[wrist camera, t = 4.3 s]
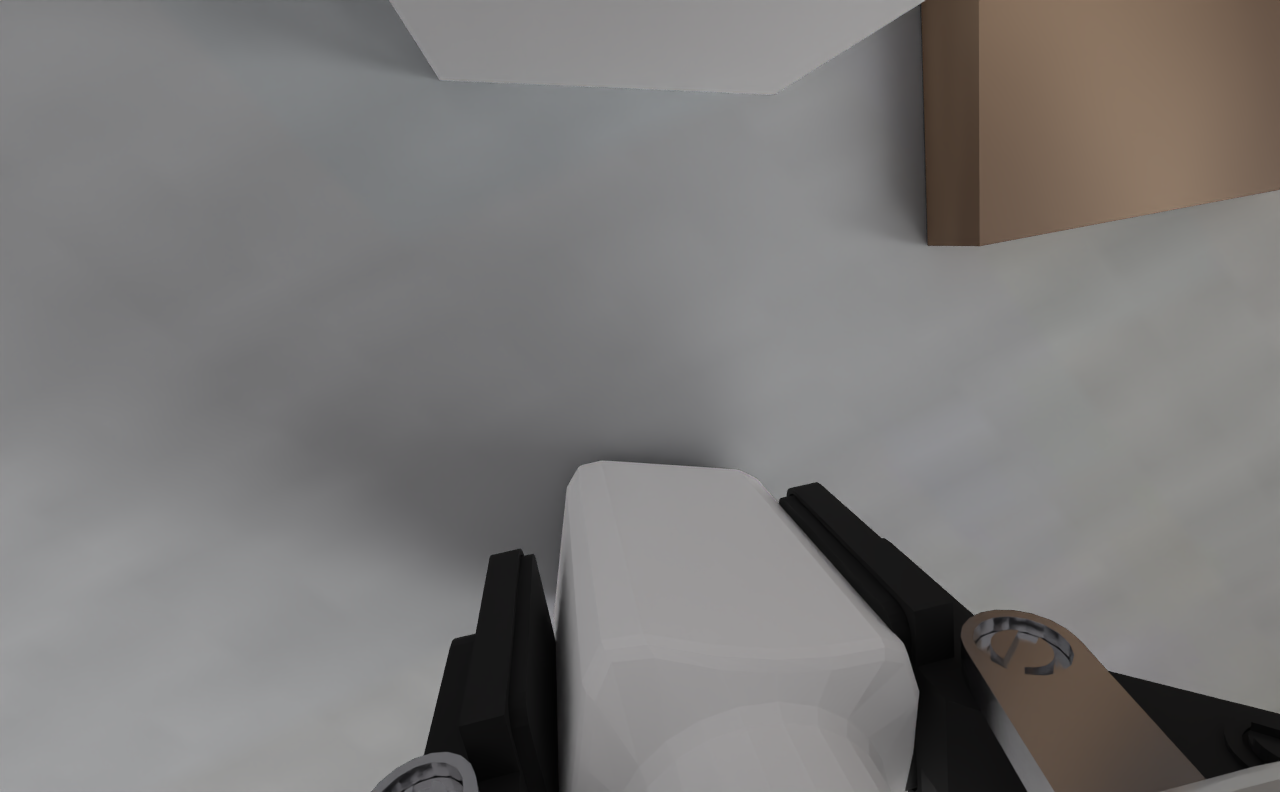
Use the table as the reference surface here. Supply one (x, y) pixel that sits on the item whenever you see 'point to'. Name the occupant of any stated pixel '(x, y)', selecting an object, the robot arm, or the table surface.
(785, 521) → the salt shaker
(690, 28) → the white cube
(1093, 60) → the carrier board
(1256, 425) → the table surface
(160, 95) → the table surface
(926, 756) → the robot arm
